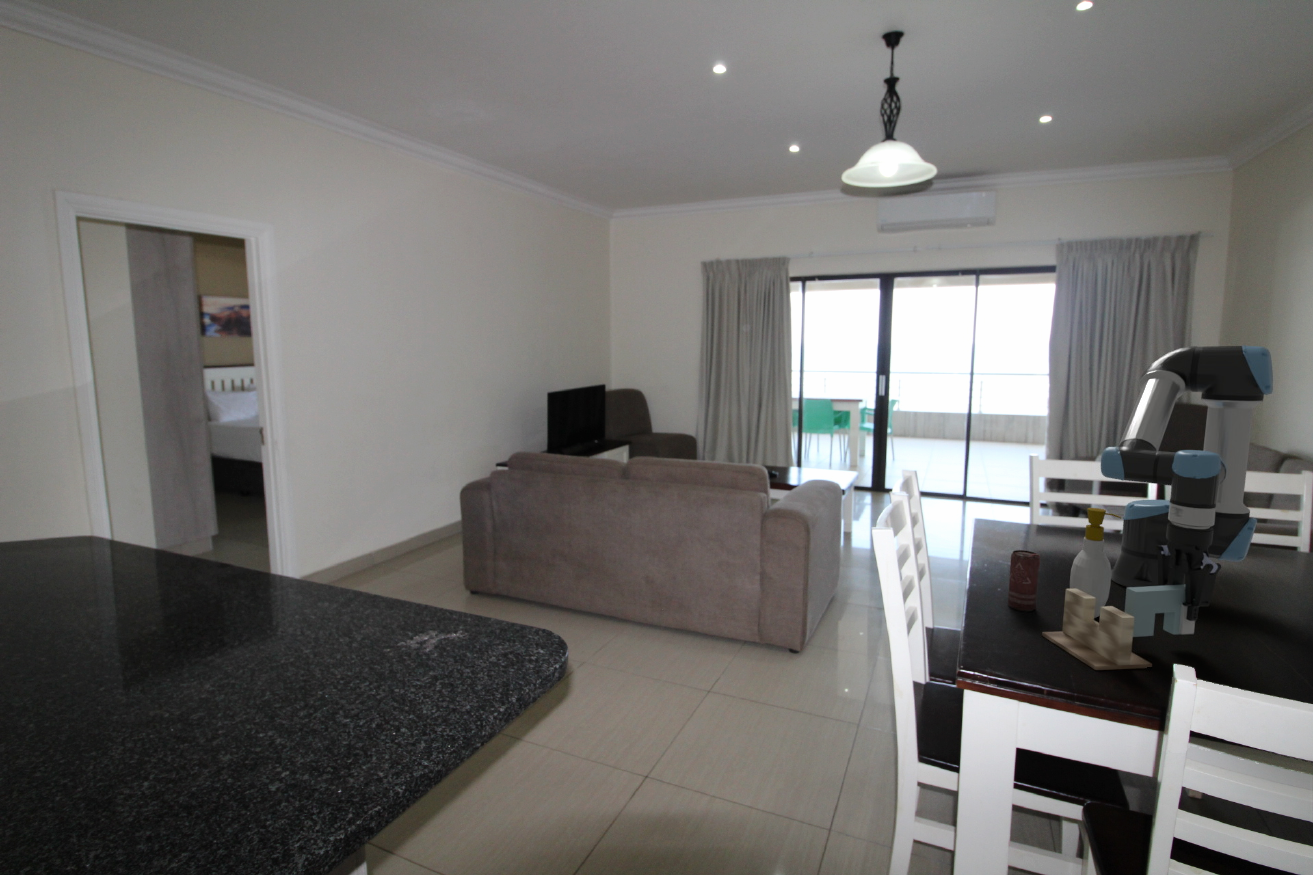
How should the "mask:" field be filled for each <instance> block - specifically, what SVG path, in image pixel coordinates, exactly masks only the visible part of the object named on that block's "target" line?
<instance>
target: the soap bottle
mask: <svg viewBox="0 0 1313 875" xmlns="http://www.w3.org/2000/svg"><path fill="white" fill-rule="evenodd" d="M1086 510H1087V518H1088V519H1087V520H1088V524H1087V525H1086V526H1085V533H1084V534H1085V535H1084V537H1083V542H1082V543H1083V545H1082V549H1081V550H1080V552H1079V553H1077V555H1076V556H1075V557H1074V559H1073V562H1072V565H1071V569H1070V579H1069V589H1078V590H1080V591H1083V592H1085V593H1087V594H1089V595H1091V596H1093V597H1095V598H1096V602H1095V613H1094V619H1096V618H1097V617H1100V610H1101V607H1105V606H1106V603H1107V601H1108V599H1109V596H1110V589H1111V581H1112V579H1111V570H1112V567H1111V561H1110V560H1109V558H1108V556H1107V554H1105V552H1104V549H1105V548H1104V547H1105V540H1104V533H1105V532H1104V530H1105V527H1104V526H1102V525H1103V523H1104V519H1105V516H1113V517H1115V518H1118V519H1122V517H1121V516H1119V515H1117V514H1115V513H1110V512H1109V513H1107V510H1106V509H1105V508H1098V507H1087V509H1086Z"/></svg>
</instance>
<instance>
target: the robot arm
mask: <svg viewBox="0 0 1313 875" xmlns="http://www.w3.org/2000/svg"><path fill="white" fill-rule="evenodd" d="M1273 372H1274V371H1273V362H1272V355H1271V352H1270V350H1269V349H1268V348H1267V347H1265V346H1260V345H1259V346H1258V345H1256V346H1255V345H1244V344H1243V345H1218V346H1216V345H1215V346H1210V345H1209V346H1208V345H1207V346H1198V345H1197V346H1195V345H1194V346H1193V345H1192V346H1184V347H1180V348H1177V349H1174V350H1172V351H1169V352H1167V353H1166V354H1163V355H1162V356H1160V357H1158V358H1157V359H1156V360H1154V361H1153V362H1152V363H1151V364H1149V366H1148V367H1147V368H1146V369H1145V370H1144V371H1143V373H1142V375H1141V376H1140V380H1139V382H1138V389H1139V393H1138V396H1137V399H1136V402H1135V404H1134V407H1133V409H1132V411H1131V414H1130V416H1129V419H1128V421H1127V424H1126V427H1125V429H1124V432H1123V434H1122V436H1121V439H1120V442H1119V444H1118V446H1107V447H1106V448H1104V450H1103V451H1102V454H1101V458H1100V473H1101V474H1102V476H1103V477H1105V478H1107V479H1114V480H1118V481H1122V482H1123V481H1125V482H1127V481H1129V482H1135V483H1136V482H1137V483H1144V484H1145V483H1146V484H1155V485H1156V484H1157V485H1163V486H1171V488H1170V497H1169V500H1168V499H1140V500H1139V499H1138V500H1134V501H1130V502H1128V503H1127V504H1126V505H1125V507H1124V512H1123V514H1124V515H1123V517H1122V520H1123V524H1122V532H1121V533H1122V534H1121V547H1120V552H1119V555H1118V557H1117V559H1116V562H1115V564H1114V566H1113V567H1111V581H1113V582H1114V583H1116V584H1118V585H1121V586H1123V587H1126V588H1129V587H1147V586H1166V585H1183V584H1185V602H1184V603H1182V605H1181V615H1180V625H1179V633H1180V634H1179V635H1194V634H1195V627H1194V625H1196V621H1197V620H1198V619H1199V618H1198V617H1199V611H1200V610H1199V608H1200V607H1209V606H1210V604H1211V601H1212V596H1213V592H1214V587H1215V583H1216V579H1217V574H1218V573H1219V572H1220V570H1221V569H1222V565H1221V564H1220V563H1218V562H1217V563H1215V562H1213V560H1211V559H1215V560H1218V561H1229V562H1236V563H1237V562H1242V561H1243V560H1244V559H1245V558H1246V557H1247V555H1248V552H1249V550H1250V546H1251V543H1252V540H1253V536H1254V534H1255V530H1256V526H1257V523H1258V519H1257V518H1255V517H1253V516H1251V517H1250V515H1251V509H1250V508H1248V507H1247V506H1246V504H1245V503H1244V496H1245V488H1246V479H1247V472H1248V471H1247V470H1248V460H1249V452H1250V446H1251V445H1250V444H1251V435H1252V427H1253V418H1254V410H1255V409H1256V408H1255V407H1258V406H1259V405H1260V404H1262V403H1263V402H1264V397H1265V396H1268V395H1271V394H1272V393H1273V392H1274V391H1273V390H1274V374H1273ZM1185 392H1192V393H1194V392H1195V393H1201V397H1200V398H1201V399H1200V400H1201V402H1203V403H1204V404H1206V406H1207V412H1206V424H1205V432H1204V433H1205V434H1204V439H1203V440H1204V442H1203V450H1199V449H1198V450H1195V449H1182V450H1178V451H1176V452H1173V451H1172V452H1170V451H1163V450H1159V449H1160V447H1161V444H1162V441H1163V438H1164V434H1165V432H1166V429H1167V427H1168V424H1169V421H1170V418H1171V415H1172V413H1173V410H1174V407H1175V406H1176V405H1175V404H1176V402H1177V399H1178V398H1181V396H1183V394H1184V393H1185ZM1193 599H1194V600H1193Z"/></svg>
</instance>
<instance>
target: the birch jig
mask: <svg viewBox="0 0 1313 875" xmlns="http://www.w3.org/2000/svg"><path fill="white" fill-rule="evenodd" d="M1095 602H1096V598H1095V597H1093V596H1091V595H1089V594H1087V593H1085V592H1083V591H1080V590H1078V589H1070V588H1065V595H1064V607H1063V618H1062V630H1061V631H1042V632H1041V636H1042V637H1044V638H1045V639H1046V640H1049V641H1050V642H1051V643H1053V644H1055V646H1057V647H1059V648H1061V649H1062V650H1064V651H1065V652H1067V653H1068V654H1070V655H1071V656H1073V657H1075V658H1076V659H1077V660H1079V661H1080V662H1082V663H1084V664H1085V665H1087V666H1089V667H1091V669H1093V670H1095V671H1104V670H1105V671H1107V670H1125V669H1126V670H1129V669H1148V668H1147V667H1153V663H1151V662H1150V661H1148V660H1146V659H1145V658H1143V657H1141V656H1139V655H1137V654H1135V653H1134V652H1132V650H1133V649H1132V648H1133V638H1134V637H1133V629H1134V618H1135V617H1133V616H1131V615H1129V614H1127V613H1125V611H1122V610H1120V609H1118V608H1116V607H1115V606H1113V605H1107V606H1106V605H1105V606H1104V607H1101V610H1100V616H1099V622H1098V621H1096V620H1095V618H1094V613H1095Z"/></svg>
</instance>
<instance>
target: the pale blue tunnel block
mask: <svg viewBox="0 0 1313 875" xmlns="http://www.w3.org/2000/svg"><path fill="white" fill-rule="evenodd" d="M1125 592H1126V593H1125V603H1124V612H1125V613H1127V614H1129V615H1131V616H1133V617H1135V618H1134V629H1133V638H1138V637H1149V636H1150V637H1153V636H1154V631H1155V620H1156V614H1163V615H1164V616H1163V627H1162V628H1163V629H1162V630H1163V631H1165V632H1167V633H1169V634H1171V635H1181V634H1180V633H1179V625H1180V615H1181V605H1182V603H1184V602H1185V583H1183V584H1182V585H1166V586H1147V587H1126V590H1125ZM1193 600H1194V599H1193ZM1195 625H1196V624H1195ZM1195 625H1194V628H1195Z"/></svg>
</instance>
